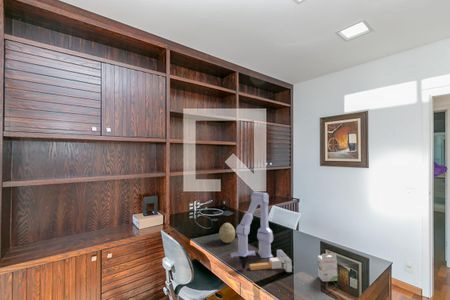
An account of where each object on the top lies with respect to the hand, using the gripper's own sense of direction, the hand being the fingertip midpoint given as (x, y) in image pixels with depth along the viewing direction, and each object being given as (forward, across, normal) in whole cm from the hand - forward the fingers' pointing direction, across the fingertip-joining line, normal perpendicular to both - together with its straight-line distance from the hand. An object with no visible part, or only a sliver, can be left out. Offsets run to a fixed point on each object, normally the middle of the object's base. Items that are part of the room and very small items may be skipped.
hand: (243, 268), depth 125 cm
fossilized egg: (+1, -3, +41) cm, 41 cm away
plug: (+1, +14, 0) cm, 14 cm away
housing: (+1, +26, 0) cm, 26 cm away
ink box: (+1, +43, -17) cm, 46 cm away
